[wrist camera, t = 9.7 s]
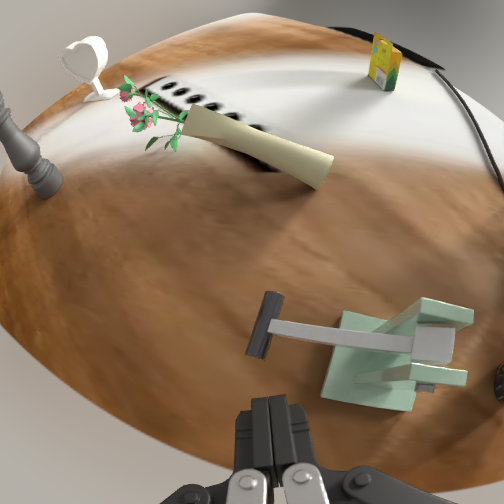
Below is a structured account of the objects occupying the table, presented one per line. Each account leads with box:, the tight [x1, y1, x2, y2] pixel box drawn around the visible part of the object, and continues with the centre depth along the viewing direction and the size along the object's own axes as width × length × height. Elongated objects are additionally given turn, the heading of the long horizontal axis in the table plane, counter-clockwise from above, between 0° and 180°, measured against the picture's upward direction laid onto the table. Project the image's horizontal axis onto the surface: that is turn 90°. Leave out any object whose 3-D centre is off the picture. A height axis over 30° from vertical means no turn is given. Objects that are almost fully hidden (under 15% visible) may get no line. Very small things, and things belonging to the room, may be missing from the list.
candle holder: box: [0, 92, 63, 199], centre depth 32 cm, size 6×6×25 cm
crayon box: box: [368, 32, 402, 91], centre depth 42 cm, size 7×3×12 cm, turn 9°
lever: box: [245, 291, 456, 367], centre depth 18 cm, size 15×6×2 cm, turn 72°
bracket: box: [320, 297, 474, 412], centre depth 19 cm, size 10×9×14 cm
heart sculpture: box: [59, 36, 120, 102], centre depth 49 cm, size 16×5×18 cm, turn 70°
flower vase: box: [118, 75, 334, 190], centre depth 37 cm, size 12×12×35 cm
